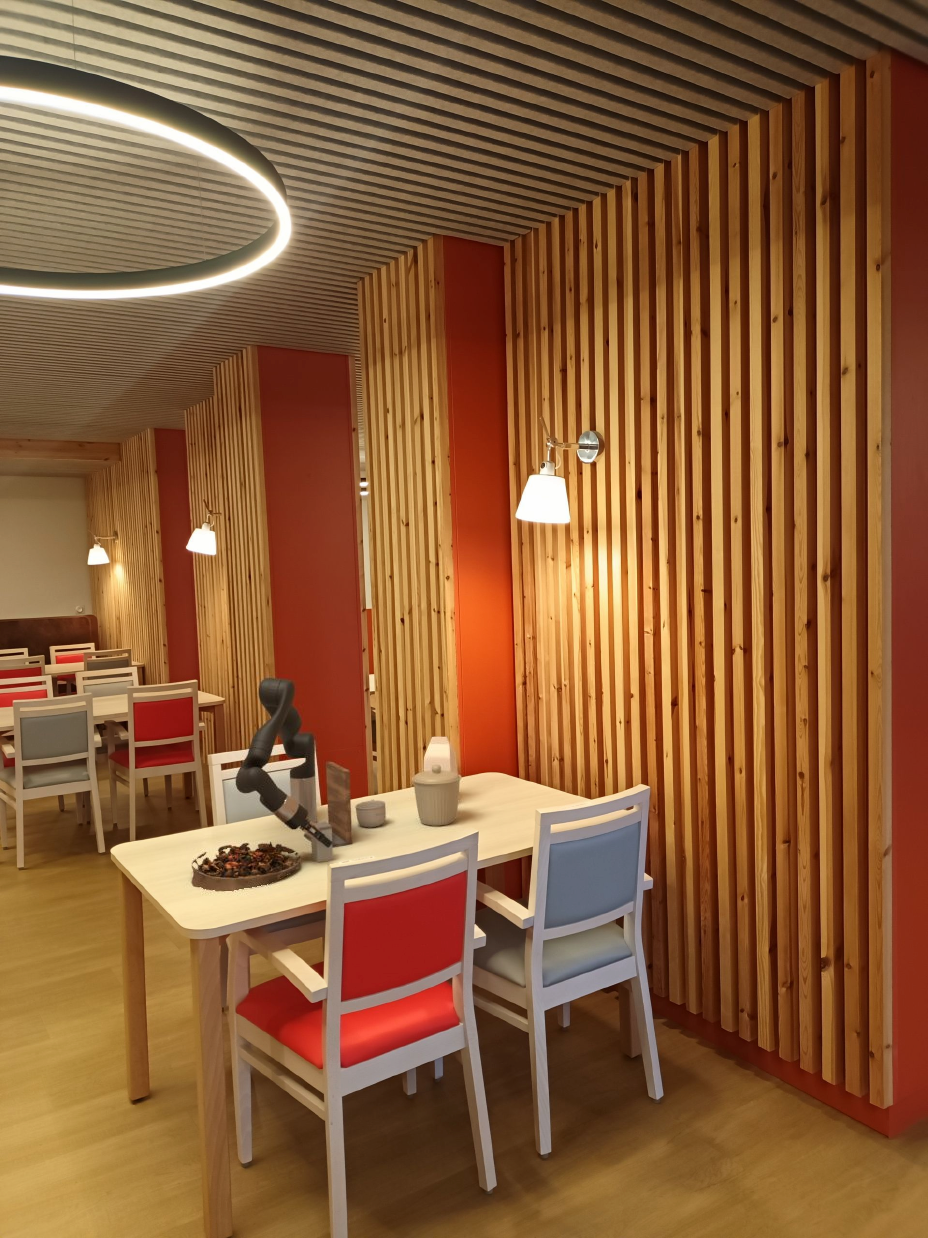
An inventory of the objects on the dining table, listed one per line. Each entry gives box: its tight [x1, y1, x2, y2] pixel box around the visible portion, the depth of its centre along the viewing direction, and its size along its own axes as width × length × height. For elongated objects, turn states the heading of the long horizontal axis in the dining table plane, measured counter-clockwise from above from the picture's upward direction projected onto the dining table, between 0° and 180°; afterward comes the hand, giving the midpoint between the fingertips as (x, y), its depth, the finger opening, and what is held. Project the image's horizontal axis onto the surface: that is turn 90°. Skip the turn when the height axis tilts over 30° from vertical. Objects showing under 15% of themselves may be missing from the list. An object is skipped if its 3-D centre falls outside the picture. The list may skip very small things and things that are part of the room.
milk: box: [423, 736, 461, 800], centre depth 358 cm, size 12×12×26 cm
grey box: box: [310, 821, 334, 863], centre depth 291 cm, size 5×6×11 cm
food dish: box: [190, 841, 302, 892], centre depth 281 cm, size 35×33×8 cm
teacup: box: [354, 799, 387, 828], centre depth 330 cm, size 14×11×8 cm
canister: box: [411, 765, 462, 827], centre depth 329 cm, size 18×18×21 cm
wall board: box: [303, 761, 353, 849], centre depth 311 cm, size 11×18×25 cm, turn 28°
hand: (326, 842), depth 292 cm, fingers closed on grey box, 6 cm apart
